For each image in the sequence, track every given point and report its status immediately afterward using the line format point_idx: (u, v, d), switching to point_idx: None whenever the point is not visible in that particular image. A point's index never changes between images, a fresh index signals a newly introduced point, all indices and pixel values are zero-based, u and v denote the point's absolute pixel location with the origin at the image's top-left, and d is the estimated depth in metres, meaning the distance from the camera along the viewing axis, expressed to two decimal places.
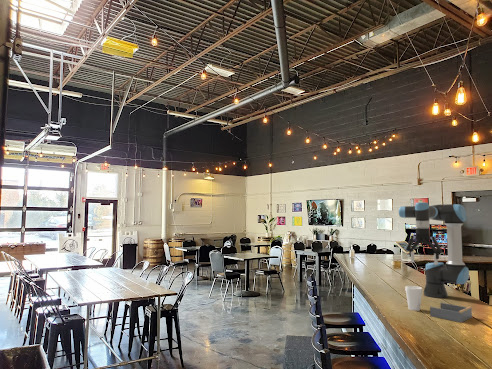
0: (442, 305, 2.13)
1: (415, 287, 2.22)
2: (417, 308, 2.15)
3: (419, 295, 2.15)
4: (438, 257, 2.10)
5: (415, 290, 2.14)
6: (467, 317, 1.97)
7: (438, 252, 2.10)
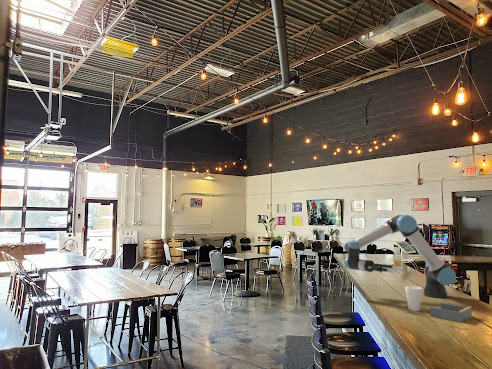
0: (442, 305, 2.13)
1: (415, 287, 2.22)
2: (417, 308, 2.15)
3: (419, 295, 2.15)
4: (385, 269, 2.25)
5: (415, 290, 2.14)
6: (467, 317, 1.97)
7: None
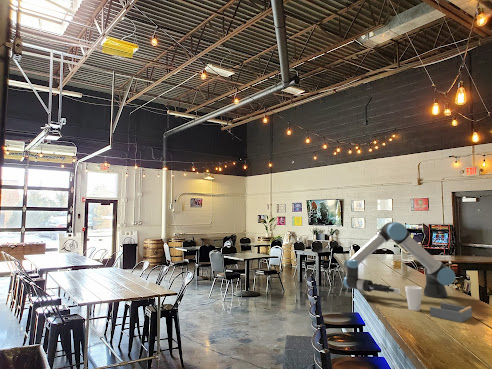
0: (442, 305, 2.13)
1: (415, 287, 2.22)
2: (417, 308, 2.15)
3: (419, 295, 2.15)
4: (391, 290, 2.27)
5: (415, 290, 2.14)
6: (467, 317, 1.97)
7: (386, 290, 2.29)
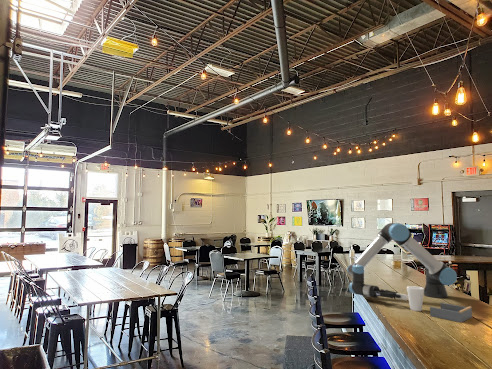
0: (442, 305, 2.13)
1: (416, 287, 2.21)
2: (419, 308, 2.14)
3: (421, 295, 2.14)
4: (398, 296, 2.23)
5: (417, 290, 2.14)
6: (467, 317, 1.97)
7: (393, 297, 2.25)
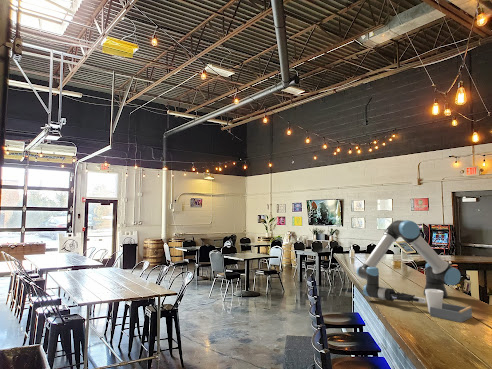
0: (442, 305, 2.13)
1: (434, 290, 2.13)
2: None
3: (441, 299, 2.06)
4: (416, 299, 2.14)
5: (437, 293, 2.05)
6: (467, 317, 1.97)
7: None
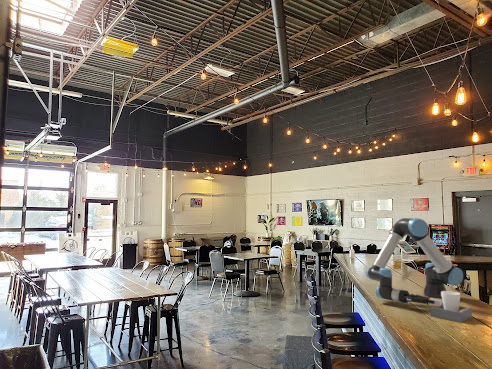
0: (442, 305, 2.13)
1: (451, 292, 2.08)
2: None
3: (458, 301, 2.00)
4: (431, 301, 2.09)
5: (454, 296, 2.00)
6: (467, 317, 1.97)
7: (426, 302, 2.11)
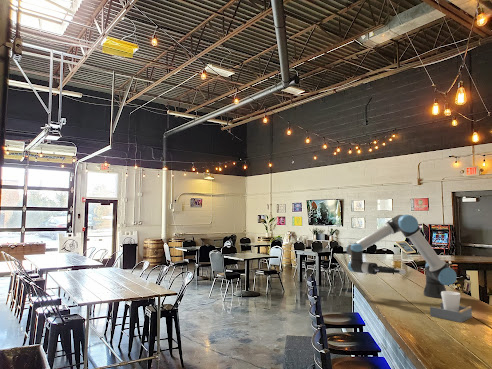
0: (442, 305, 2.13)
1: (451, 292, 2.08)
2: None
3: (458, 301, 2.00)
4: (397, 271, 2.25)
5: (454, 296, 2.00)
6: (467, 317, 1.97)
7: (392, 272, 2.27)
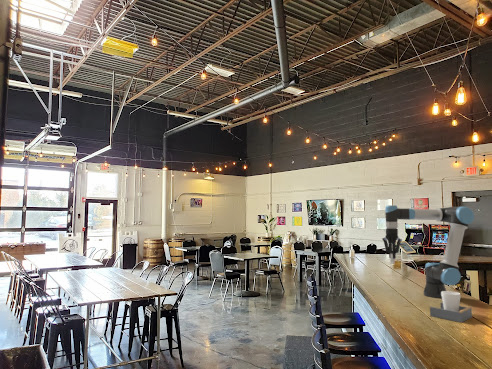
0: (442, 305, 2.13)
1: (451, 292, 2.08)
2: None
3: (458, 301, 2.00)
4: (395, 257, 2.41)
5: (454, 296, 2.00)
6: (467, 317, 1.97)
7: (395, 252, 2.41)
